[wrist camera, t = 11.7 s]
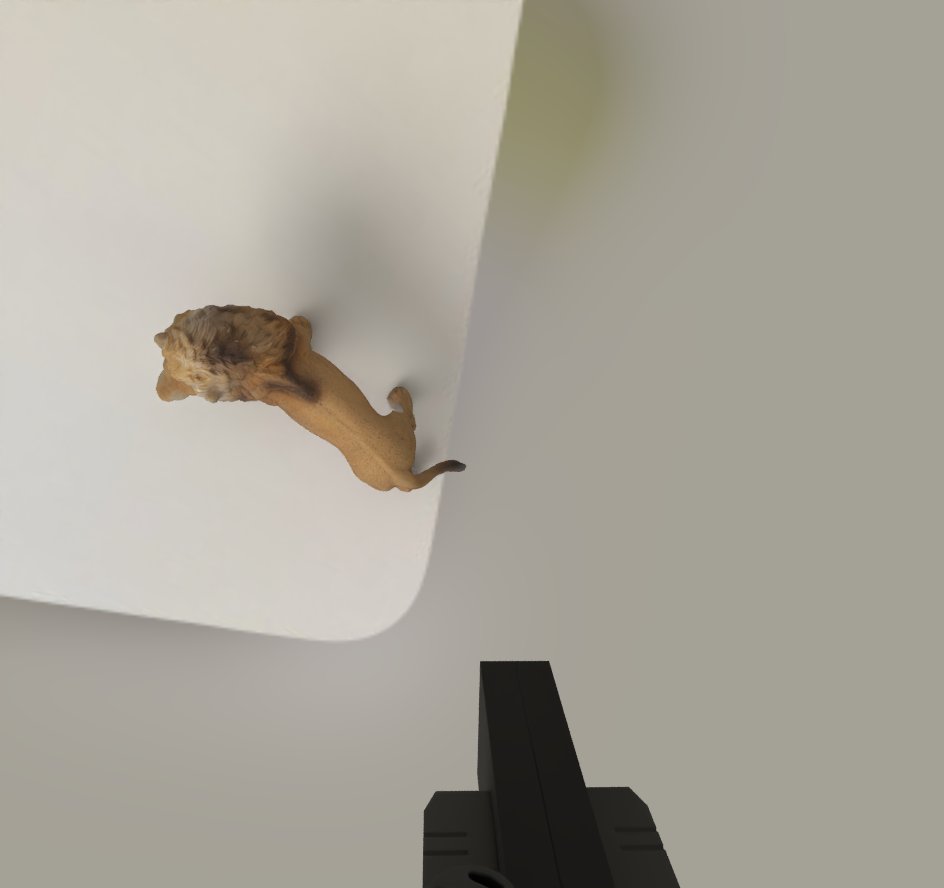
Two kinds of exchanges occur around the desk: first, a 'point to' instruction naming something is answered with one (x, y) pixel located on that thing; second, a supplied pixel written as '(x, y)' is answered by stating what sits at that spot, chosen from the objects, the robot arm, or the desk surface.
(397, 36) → the desk surface
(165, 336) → the lion figurine
